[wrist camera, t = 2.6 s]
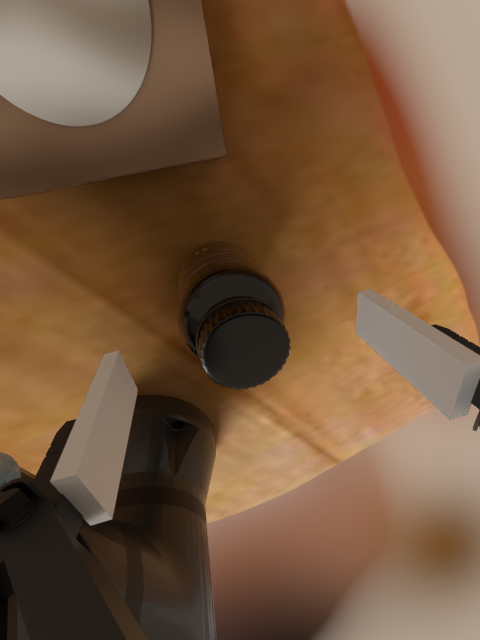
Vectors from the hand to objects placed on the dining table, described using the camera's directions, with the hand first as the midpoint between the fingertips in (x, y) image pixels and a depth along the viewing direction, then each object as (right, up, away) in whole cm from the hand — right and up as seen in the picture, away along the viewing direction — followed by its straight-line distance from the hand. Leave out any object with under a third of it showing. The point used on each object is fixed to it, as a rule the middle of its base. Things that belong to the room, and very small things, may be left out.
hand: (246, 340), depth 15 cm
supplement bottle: (-2, +5, +10) cm, 11 cm away
